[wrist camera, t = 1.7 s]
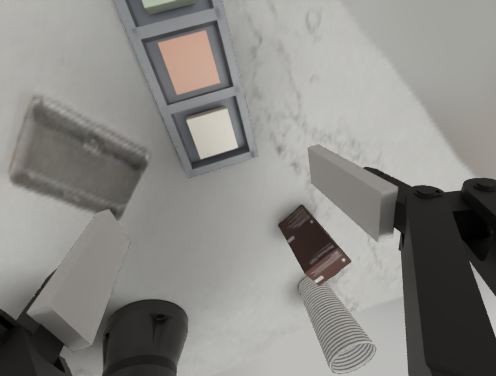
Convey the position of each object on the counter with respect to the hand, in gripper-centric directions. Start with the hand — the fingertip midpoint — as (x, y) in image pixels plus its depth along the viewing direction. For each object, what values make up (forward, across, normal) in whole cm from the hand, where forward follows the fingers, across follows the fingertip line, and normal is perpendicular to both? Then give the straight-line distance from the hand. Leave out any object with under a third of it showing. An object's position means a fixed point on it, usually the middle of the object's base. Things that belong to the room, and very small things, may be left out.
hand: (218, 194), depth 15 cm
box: (+19, +11, -20) cm, 30 cm away
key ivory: (+16, +1, +1) cm, 16 cm away
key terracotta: (+16, +1, +8) cm, 18 cm away
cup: (+19, +12, -39) cm, 45 cm away
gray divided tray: (+19, +1, +8) cm, 21 cm away
